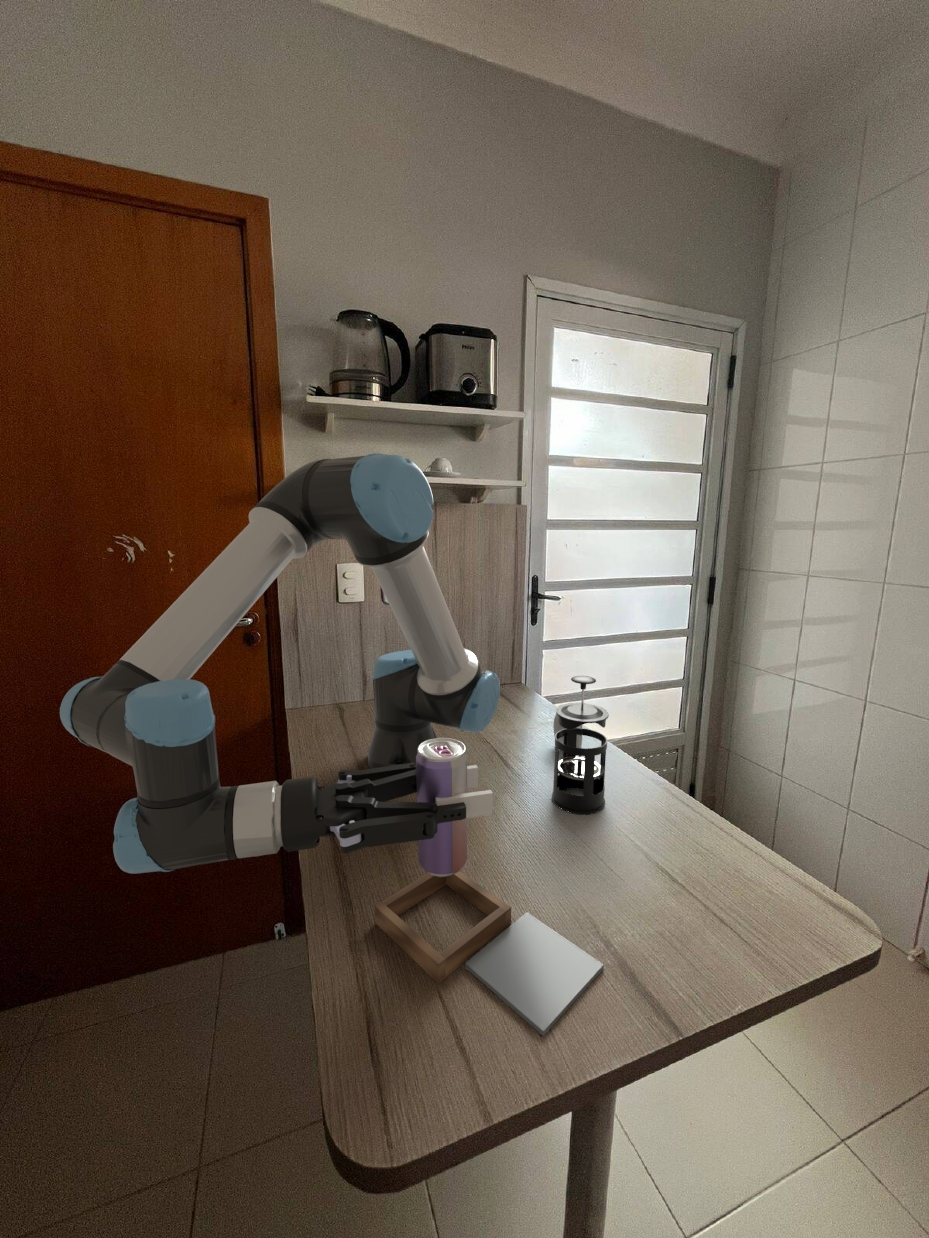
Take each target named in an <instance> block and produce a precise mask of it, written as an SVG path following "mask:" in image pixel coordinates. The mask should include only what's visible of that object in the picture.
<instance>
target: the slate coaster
mask: <svg viewBox="0 0 929 1238" xmlns="http://www.w3.org/2000/svg"><path fill="white" fill-rule="evenodd" d="M464 968H465V969H466V970H467V971H468V972H469V973H470V974H472V975H473V977H475V978H476V979H477V980H479V981H480V982H481V983H482V984H483V985H484V986H486V987H487V988H488V989H489V990H490V991H491V992H492V993H494V994H495V996H497V997H498V998H499V999H500V1000H501V1001H502V1002H503V1003H504V1004H506V1006H509V1008H511V1010H513V1011H514V1012H515V1013H516V1014H517V1015H518V1016H520V1017H521V1018H522V1019H523V1020H524V1021H526V1023H527V1024H529V1025H530V1026H531V1027H532V1028H533V1029H534V1030H535V1031H537V1032H538V1034H539V1035H541V1036H542V1037H545V1036H546V1034H547V1033H548V1032H549V1031H550V1030H551V1028H552V1027H554V1025H555V1024H556V1023H557V1022H558V1021H559V1020H560V1018H561V1017H562V1016H563V1015H564V1014H565V1013H566V1012H567V1011H568V1009H569V1008H570V1007H571V1006H572V1005H573V1004H574V1003H575V1002H576V1000H577V999H578V998H579V997H580V996H581V995H582V994H583V993H584V991H585V990H586V989H587V988H588V987H589V986H590V985H591V983H592V982H594V981H595V979H596V978H597V977H598V976H599V975H600V974H601V972H602V971H604V964H603V963H602V962H600V961H599V960H597V959H596V958H595V957H593V956H592V955H591V954H589V953H588V952H586V951H584V950H583V949H582V948H580V947H579V946H577V945H575V944H574V943H573V942H571V941H570V940H568V939H567V938H565V937H564V936H563V935H561V934H559V933H558V932H556V931H555V930H554V929H553V928H552V927H549V926H548V925H546V924H545V923H544V922H542V921H541V920H539V919H538V918H536V917H535V916H534V915H532V914H531V913H529V912H528V911H527V912H525V913H524V914H523V915H521V916H520V917H519V918H518V919H516V921H514V922H513V923H511V925H510V926H509V927H507V928H506V929H505V930H504V931H502V932H501V933H500V934H499V935H498V936H496V937H495V938H494V939H493V940H492V941H490V942H489V943H488V944H487V945H485V946H484V947H483V948H482V949H481V950H479V951H478V952H477V953H476V954H475V955H473V956H472V957H471V958H470V959H468V960H467V961H466V962H465V963H464Z"/></svg>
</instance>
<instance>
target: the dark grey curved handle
mask: <svg viewBox="0 0 929 1238" xmlns="http://www.w3.org/2000/svg"><path fill="white" fill-rule="evenodd" d="M555 713H556V712H555ZM577 728H580V726H578V727H577ZM563 729H564V727H562V726H561V725H559V723H558V715H557V713H556V714H555V715H554V717H553V735H554V737H555V734H556V733H557V732H558V731H560V730H563ZM558 741H560V742H561V743H563V744H564V736H563V737H561V738H559V739H558ZM579 747H580V735H577V740H576V748H579ZM561 753H563V751H561Z"/></svg>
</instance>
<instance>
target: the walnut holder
mask: <svg viewBox="0 0 929 1238" xmlns="http://www.w3.org/2000/svg"><path fill="white" fill-rule="evenodd" d="M444 886H447V887H449V888H450V889H451V890H453V891H454V892H455V893H457V894H458V895H460V896H461V897H462V898H463V899H465V900H466V901H468V902H469V903H470V904H472V905H473V906H474V907H476V908H477V909H478V910H480V911H481V912H482V913H484V914H485V915H486V917H485V918H483V919H482V920H481V921H480V922H478V923H477V924H476V925H475V926H473V927H472V928H470V929H469V930H467V932H465V933H464V934H462V935H461V936H460V937H458V939H456V940H455V941H453V942H452V943H451V944H450V945H448V946H447V947H446V948H445V949H443V950H442V951H441V952H438V951H437V950H436V949H435V948H434V947H433V946H432V945H431V944H429V943H428V942H427V941H426V940H425V939H424V938H423V937H422V936H421V935H419V934H418V933H417V932H416V931H415V930H414V929H413V928H411V926H410V925H409V924H407V923H406V922H405V921H404V920H403V919H402V918H400V915H401V914H403V913H404V912H405V913H406V911H408V910H409V909H410V908H412V907H414V906H415V905H417V904H418V903H420V902H421V901H423V900H424V899H427V898H428V897H429V896H430V895H432V894H434V893H435V892H436V891H438V890H440V889H442V888H444ZM374 918H375V919H374V920H375V925H377V926H378V927H379V928H380V929H381V930H382V931H383V932H384V933H385V934H386V935H387V936H388V937H389V938H390V939H392V941H394V943H396V944H397V945H398V946H399V948H401V949H402V950H403V951H404V952H405V953H406V954H407V955H408V956H409V957H410V958H411V959H412V960H413V961H415V963H416V964H417V965H419V967H420V968H421V969H423V970H424V971H425V973H427V974H428V975H429V976H430V977H431V978H432V979H433V980H434V981H435V982H436V983H437V984H441V983H442V982H443V981H445V980H446V978H448V977H449V976H450V975H452V974H453V973H454V972H455V971H456V970H458V969H459V968H460V967H461V966H462V965H465V963H466V962H467V961H468V960H469V959H470V958H472V957H473V956H474V955H475V954H477V953H478V952H479V951H480V950H481V949H483V948H484V947H485V946H486V945H487V944H489V943H490V942H491V941H492V940H494V939H495V938H496V937H497V936H498V935H500V934H501V933H502V932H503V931H504V930H506V929H507V928H508V927H509V926H511V925H512V906H511V905H509V904H508V903H506V902H505V901H504V900H502V899H501V898H499V897H498V896H496V895H495V894H493V893H492V892H491V891H489V890H488V889H486V888H485V887H484V886H482V885H480V884H479V883H478V882H476V881H475V880H474V879H472V878H471V877H469V876H468V875H466V873H463V872H462V871H461V870H460V871H458V872H457V873H455V874H453V875H450V876H444V877H439V876H434V875H431V874H429V873H427V872H426V873H425V874H424V875H422V876H420V877H419V878H417V879H416V880H414V881H412V882H411V883H409V884H408V885H406V886H404V887H403V888H401V889H400V890H398V891H396V892H395V893H393V894H392V895H389V896H388V897H386V898H385V899H383V900H382V901H380V902H378V903H377V904H375V905H374Z"/></svg>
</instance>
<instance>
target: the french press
mask: <svg viewBox="0 0 929 1238" xmlns="http://www.w3.org/2000/svg"><path fill="white" fill-rule="evenodd" d="M570 680H571V681H572V682H573V683H576V684H580V690H581V702H567V703H564V704H560V705H558V706H557V707H556V708H555V713H557V715H558V723H559V725H561V726H562V727H564V729H563V730H560V731H558V732H557V733H556V734H555V736H554V757H553V758H554V759H553V760H554V762H553V763H554V764H553V781H552V782H553V784H552V785H553V786H552V787H553V788H552V789H553V790H552V793H551V800H553V801H552V802H554V803H555V804H556V805H557V806H558V807H557V806H556V805H555V804H554V803H553V804H554V805H555V806H556V807H557V808H559V807H560V808H562V809H563V810H562V809H561V810H562V811H564V810H565V811H564V812H566V811H569V812H568V813H570V812H571V813H570V814H574V813H575V814H574V815H581V814H586V815H592V814H591V813H593V814H596V813H595V812H597V811H599V812H601V811H602V810H603V809H604V808H603V807H605V806H604V805H605V804H606V799H605V788H606V787H605V776H606V775H605V774H606V773H605V772H606V760H607V759H606V758H607V757H606V756H607V748H608V738H607V737H606V735H604V734H603V733H601V732H599V731H596V730H593V729H589V728H583V725H586V724H598V725H599V726H600V727H602V728H605V727H606V720H608V718H609V711H608V710H607V709H606V708H604V707H602V706H600V705H599V706H598V705H597V704H596V705H595V704H592V703H585V702H584V699H585V690H586V689H587V685H590V684H591V685H592V684H595V683H596V682H597V679H596V678H594V677H592V676H588V675H576V676H573V677H571V678H570ZM578 726H580V728H577V727H578ZM577 735H580V747H579V748H576V740H577ZM563 736H564V744H563V743H561V742H560V741H558V739H559V738H561V737H563ZM583 736H584V737H585V736H587V737H590V738H594V739H596V740H599V741H600V743H601V744H600V746H597V747H593V748H590V747H589V748H582V745H583ZM562 751H563V752H562ZM560 752H562V758H561V759H559V757H560V755H559V754H560ZM598 755H600V760H599V761H600V762H598V761H596V756H598ZM572 789H573V790H582V795H579V794H572V793H568V792H566V791H567V790H572ZM560 808H559V809H560ZM602 808H603V809H602ZM601 809H602V810H601ZM600 810H601V811H600ZM597 813H598V812H597Z"/></svg>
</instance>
